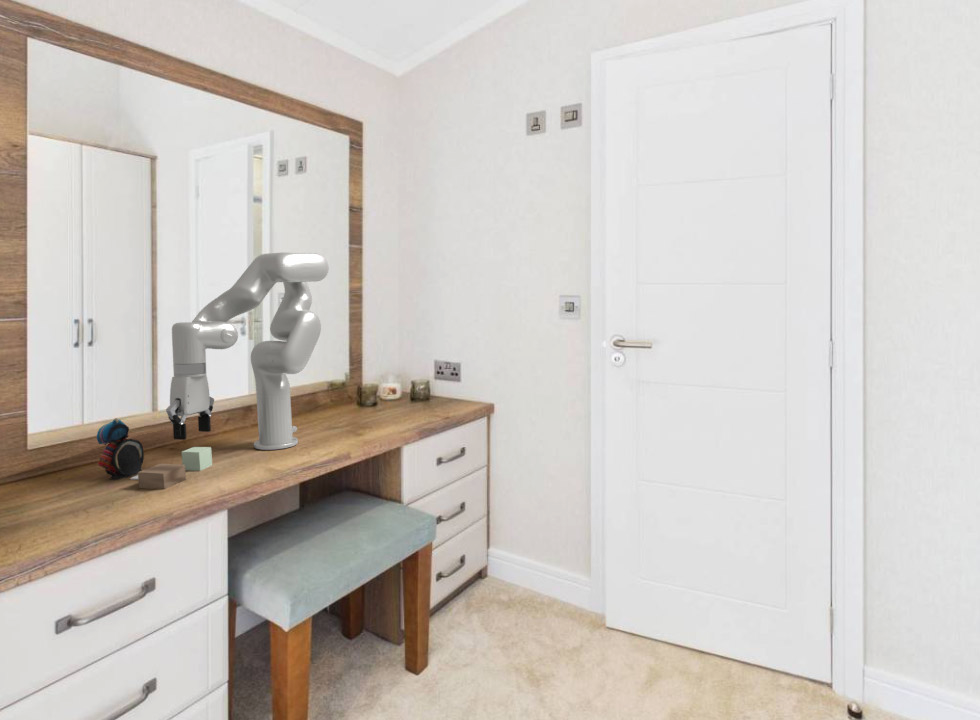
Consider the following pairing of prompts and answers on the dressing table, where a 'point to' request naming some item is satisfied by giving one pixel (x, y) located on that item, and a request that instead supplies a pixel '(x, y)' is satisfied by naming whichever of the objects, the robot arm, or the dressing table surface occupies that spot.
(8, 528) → the dressing table surface
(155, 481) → the walnut base
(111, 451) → the figurine
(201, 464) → the sage cube
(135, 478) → the tile
